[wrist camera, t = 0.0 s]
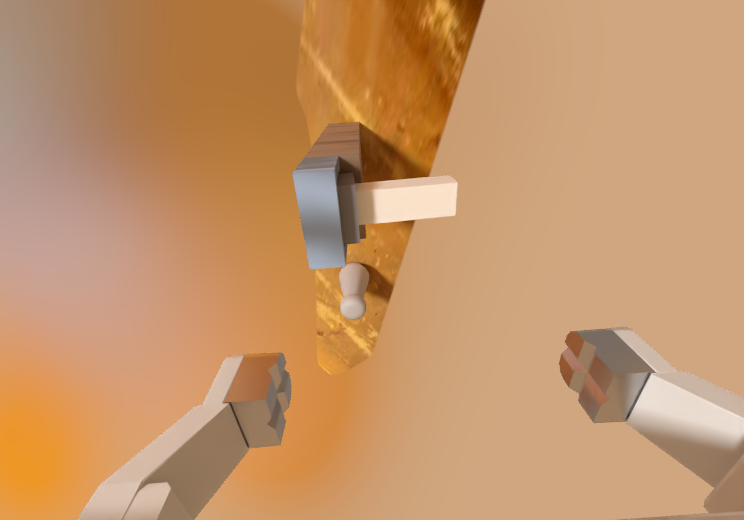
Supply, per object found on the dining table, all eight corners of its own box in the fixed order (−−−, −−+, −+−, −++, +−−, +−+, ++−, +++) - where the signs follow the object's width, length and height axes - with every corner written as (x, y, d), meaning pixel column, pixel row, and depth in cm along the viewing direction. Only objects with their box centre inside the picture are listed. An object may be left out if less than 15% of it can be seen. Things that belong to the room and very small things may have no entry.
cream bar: (307, 176, 28) (303, 189, 25) (449, 164, 29) (464, 174, 25) (315, 228, 31) (313, 247, 27) (446, 216, 31) (460, 232, 28)
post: (328, 124, 51) (292, 173, 23) (359, 121, 51) (359, 168, 23) (334, 175, 54) (309, 269, 27) (363, 173, 54) (366, 265, 27)
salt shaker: (373, 276, 64) (376, 318, 53) (348, 287, 65) (345, 330, 54) (360, 253, 62) (361, 292, 50) (334, 265, 63) (328, 305, 51)
